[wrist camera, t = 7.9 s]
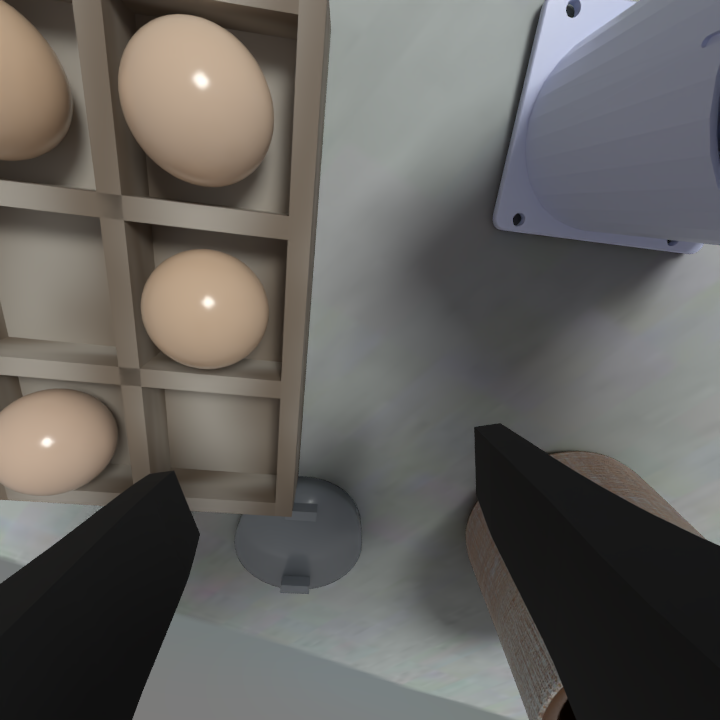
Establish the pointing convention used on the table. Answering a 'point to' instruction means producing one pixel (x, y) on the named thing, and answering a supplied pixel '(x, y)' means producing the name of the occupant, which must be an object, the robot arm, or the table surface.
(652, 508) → the planter
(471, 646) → the table surface
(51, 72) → the egg
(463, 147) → the table surface
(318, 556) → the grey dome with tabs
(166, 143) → the egg
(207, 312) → the egg loose
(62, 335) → the carton
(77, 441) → the egg
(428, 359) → the table surface
